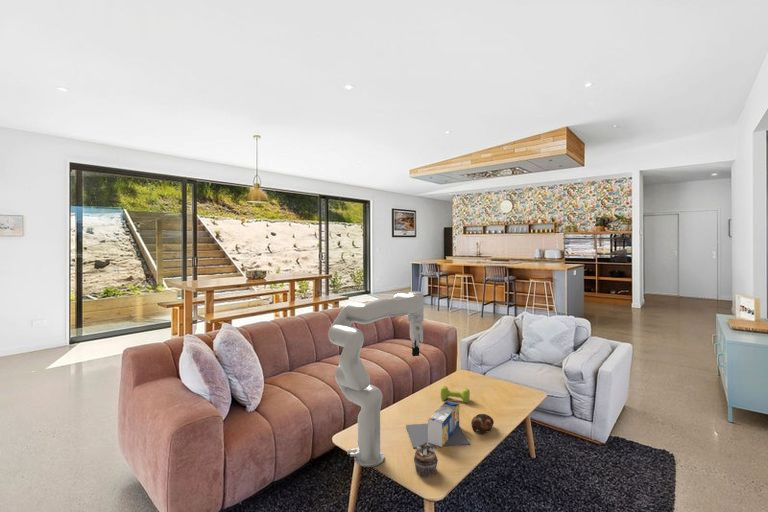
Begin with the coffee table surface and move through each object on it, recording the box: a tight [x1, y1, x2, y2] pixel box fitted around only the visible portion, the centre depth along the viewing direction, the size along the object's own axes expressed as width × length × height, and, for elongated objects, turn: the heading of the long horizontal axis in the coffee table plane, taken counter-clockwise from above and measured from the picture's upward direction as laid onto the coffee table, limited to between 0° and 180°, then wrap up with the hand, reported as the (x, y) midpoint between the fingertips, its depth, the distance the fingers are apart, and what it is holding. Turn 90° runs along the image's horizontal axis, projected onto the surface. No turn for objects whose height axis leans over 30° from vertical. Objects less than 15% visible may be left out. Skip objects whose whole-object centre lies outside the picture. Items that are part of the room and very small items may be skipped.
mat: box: [405, 423, 471, 450], centre depth 177 cm, size 26×20×1 cm
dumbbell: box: [439, 385, 471, 404], centre depth 215 cm, size 16×8×7 cm, turn 71°
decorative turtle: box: [470, 413, 495, 435], centre depth 181 cm, size 10×15×8 cm, turn 138°
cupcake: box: [413, 443, 439, 478], centre depth 150 cm, size 10×10×10 cm
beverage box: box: [427, 400, 460, 448], centre depth 177 cm, size 7×11×22 cm
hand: (415, 355), depth 180 cm, fingers closed
